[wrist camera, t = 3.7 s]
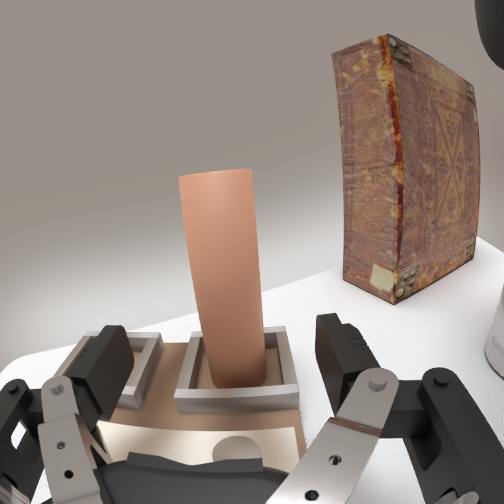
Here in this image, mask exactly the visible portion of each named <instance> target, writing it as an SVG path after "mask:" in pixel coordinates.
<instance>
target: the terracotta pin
mask: <svg viewBox="0 0 504 504" xmlns="http://www.w3.org/2000/svg"><path fill="white" fill-rule="evenodd" d="M179 185H180V194H181V202H182V210H183V218H184V226H185V233H186V240H187V247H188V254H189V260H190V267H191V273H192V280H193V286H194V292H195V297H196V303H197V309H198V314H199V319H200V325H201V330H202V335H203V340H204V345H205V350H206V355H207V359H208V364H209V369H210V373H211V378H212V381H213V384H214V385H215V386H216V387H217V388H218V389H230V388H250V387H260V386H261V385H262V384H263V383H264V381H265V379H266V376H267V372H266V357H265V343H264V328H263V314H262V300H261V286H260V273H259V259H258V245H257V233H256V218H255V206H254V193H253V180H252V169H237V170H224V171H214V172H205V173H198V174H191V175H185V176H179Z"/></svg>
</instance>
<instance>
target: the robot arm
mask: <svg viewBox="0 0 504 504" xmlns="http://www.w3.org/2000/svg"><path fill="white" fill-rule="evenodd" d="M475 10H476V19H477V25H478V30H479V34H480V38H481V41H482V44H483V46H484V48H485V50H486V52H487V54H488V56H489V57H490V58H491V60H492V61H493V62H494V63H495V64H496V65H497V66H498V67H500V68H501V69H503V70H504V0H475ZM485 352H486V356H487V359H488V361H489V363H490V364H491V366H492V367H493V368H494V369H495V370H496V371H497V372H498V373H499V374H500V375H501V376H502V377H504V285H503V289H502V293H501V297H500V300H499V304H498V307H497V311H496V314H495V317H494V321H493V324H492V327H491V330H490V333H489V336H488V339H487V342H486V344H485ZM315 354H316V360H317V363H318V366H319V369H320V372H321V375H322V379H323V382H324V385H325V388H326V391H327V394H328V397H329V400H330V404H331V407H332V410H333V413H334V418H333V417H330V418H329V419H328V420H327V422H326V423H325V425H324V426H323V428H322V429H321V431H320V432H319V434H318V435H317V437H316V438H315V440H314V441H313V443H312V444H311V445H310V447H309V448H308V450H307V451H306V453H305V454H304V455H303V457H302V458H301V459H300V461H299V462H298V463H297V465H296V466H295V467H294V469H293V470H292V471H291V473H288V472H286V471H283V470H280V469H276V468H271V467H265V466H263V460H262V458H250V459H225V460H220V461H215V462H210V463H204V464H198V465H187V464H183V463H180V462H177V461H173V460H170V459H167V458H164V457H161V456H157V455H149V454H142V453H135V452H129V453H128V456H127V460H122V461H116V462H113V460H112V458H111V456H110V453H109V451H108V449H107V446H106V444H105V442H104V439H103V437H102V434H101V431H100V429H99V427H98V426H97V422H98V420H102V421H108V422H110V419H111V417H112V415H113V412H114V410H115V408H116V406H117V403H118V401H119V399H120V397H121V394H122V392H123V390H124V388H125V385H126V383H127V381H128V379H129V377H130V374H131V372H132V370H133V368H134V354H133V351H132V349H131V346H130V343H129V340H128V337H127V334H126V331H125V329H124V327H123V326H120V325H106V326H105V327H104V328H103V330H102V331H101V332H100V333H99V335H98V336H96V337H95V338H93V339H92V340H91V341H89V342H88V343H87V344H86V346H85V347H84V349H83V351H81V353H80V354H79V355H78V356H79V357H77V358H76V360H75V361H74V362H73V364H72V365H71V367H70V368H69V370H68V371H67V372H66V374H65V375H64V376H55V377H52V378H50V379H49V380H47V381H46V382H45V383H44V384H43V386H42V388H41V389H29V387H28V386H27V384H26V382H25V381H24V380H22V379H14V380H12V381H10V382H8V383H7V384H6V385H5V386H4V387H3V388H2V390H1V391H0V504H31V501H32V499H33V496H34V493H35V490H36V487H37V485H38V482H39V479H40V477H41V474H42V472H43V469H44V468H45V472H46V476H47V481H48V484H49V488H50V492H51V496H52V498H50V499H48V500H46V501H45V502H43V503H41V504H345V503H346V502H347V500H348V498H349V496H350V495H351V493H352V491H353V489H354V488H355V486H356V484H357V482H358V480H359V478H360V477H361V475H362V473H363V471H364V469H365V467H366V465H367V463H368V461H369V459H370V457H371V455H372V452H373V450H374V448H375V446H376V444H377V441H378V439H379V438H403V441H404V444H405V446H406V449H407V452H408V454H409V457H410V460H411V462H412V465H413V468H414V471H415V474H416V476H417V479H418V482H419V485H420V488H421V491H422V494H423V497H424V500H425V503H426V504H504V449H503V447H502V445H501V443H500V442H499V440H498V438H497V436H496V435H495V433H494V431H493V430H492V428H491V426H490V425H489V423H488V422H487V420H486V418H485V417H484V415H483V414H482V412H481V410H480V409H479V407H478V406H477V404H476V403H475V401H474V400H473V398H472V397H471V395H470V394H469V392H468V391H467V389H466V388H465V386H464V385H463V383H462V382H461V381H460V379H459V378H458V376H457V375H456V374H455V373H454V372H452V371H451V370H449V369H446V368H440V367H438V368H432V369H429V370H428V371H426V372H425V373H424V375H423V377H422V380H398V378H397V376H396V375H395V374H394V373H393V372H391V371H389V370H387V369H384V368H381V367H380V365H379V364H378V362H377V360H376V358H375V357H374V355H373V353H372V352H371V350H370V348H369V346H367V343H366V341H365V340H364V339H363V336H362V335H361V333H360V331H359V330H358V329H357V328H355V327H354V326H353V325H351V324H350V323H347V324H342V323H341V321H340V319H339V318H338V316H337V314H336V313H330V314H322V315H317V318H316V338H315ZM19 421H20V423H21V424H22V425H23V427H24V428H25V429H26V432H25V434H24V436H23V437H22V439H21V441H20V443H19V445H18V447H17V449H15V448H14V446H13V445H12V442H11V435H12V433H13V431H14V430H15V428H16V426H17V424H18V422H19Z"/></svg>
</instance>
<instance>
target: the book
mask: <svg viewBox="0 0 504 504" xmlns="http://www.w3.org/2000/svg"><path fill="white" fill-rule="evenodd" d="M332 60H333V66H334V74H335V82H336V91H337V99H338V109H339V120H340V133H341V147H342V163H343V164H342V165H343V192H344V254H343V279H344V280H346V281H348V282H350V283H352V284H354V285H356V286H358V287H360V288H362V289H364V290H366V291H368V292H370V293H372V294H374V295H376V296H378V297H380V298H382V299H384V300H386V301H388V302H390V303H392V304H394V305H395V304H396V303H398V302H400V301H402V300H404V299H406V298H408V297H410V296H411V295H413V294H415V293H417V292H419V291H420V290H422V289H424V288H426V287H428V286H429V285H431V284H433V283H434V282H436V281H438V280H440V279H441V278H443V277H445V276H446V275H448V274H450V273H451V272H453V271H454V270H456V269H458V268H459V267H461V266H462V265H464V264H466V263H467V262H469V261H470V260H472V259H473V257H474V251H475V244H476V236H477V226H478V216H479V201H480V145H479V129H478V118H477V109H476V101H475V95H474V88H473V86H472V84H470V83H469V82H468V81H466V80H465V79H464V78H462V77H461V76H459V75H458V74H457V73H455V72H454V71H452V70H451V69H449V68H448V67H446V66H445V65H443V64H442V63H440V62H438V61H437V60H435V59H434V58H432V57H430V56H429V55H427V54H425V53H424V52H422V51H420V50H419V49H417V48H415V47H413V46H411V45H410V44H408V43H406V42H404V41H402V40H400V39H398V38H396V37H394V36H392V35H390V34H385V35H382V36H378V37H376V38H372V39H369V40H366V41H363V42H361V43H358V44H355V45H352V46H350V47H347V48H344V49H342V50H339V51H337V52H334V53H332Z"/></svg>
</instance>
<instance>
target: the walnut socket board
mask: <svg viewBox="0 0 504 504" xmlns="http://www.w3.org/2000/svg"><path fill="white" fill-rule="evenodd" d="M99 333H100V332H98V331H87V332H86V334H85V335H84V336H83V338H82V339H81V340H80V341H79V343H78V344H77V345H76V346H75V348H74V349H73V350H72V352H71V353H70V354H69V356H68V357H67V358H66V360H65V361H64V362H63V364H62V365H61V366H60V368H59V369H58V370H57V372H56V373H55V374H54V376H53V377H55V376H64V375H65V374H66V372H67V371H68V370H69V368H70V367H71V365H72V364H73V362H74V361H75V360H76V358H77V357H79V356H78V355H79V354H80V353H81V351H83V349H84V347H85V346H86V344H87V343H88V342H89V341H91V340H92V339H93V338H95V337H96V336H98V335H99ZM126 334H127V337H128V340H129V343H130V346H131V349H132V351H133V354H134V368H133V370H132V372H131V374H130V377H129V379H128V381H127V383H126V385H125V388H124V390H123V392H122V394H121V397H120V399H119V401H118V403H117V406H116V408H115V410H114V412H113V415H112V417H111V419H110V422H108V421H102V420H98V422H97V426H98V427H99V429H100V431H101V434H102V437H103V439H104V442H105V444H106V446H107V449H108V451H109V453H110V456H111V458H112V460H113V462H116V461H122V460H127V456H128V453H129V452H135V453H142V454H149V455H157V456H161V457H164V458H167V459H170V460H173V461H177V462H180V463H183V464H187V465H198V464H204V463H210V462H215V461H220V460H225V459H250V458H262V460H263V466H265V467H271V468H276V469H280V470H283V471H286V472H288V473H291V471H292V470H293V469H294V467H295V466H296V465H297V463H298V462H299V461H300V459H301V458H302V457H303V455H304V454H305V453H306V445H305V440H304V435H303V429H302V424H301V419H300V413H299V389H298V384H297V379H296V374H295V370H294V365H293V360H292V356H291V351H290V346H289V342H288V337H287V333H286V328H285V326H277V327H266V328H264V343H265V357H266V372H267V376H266V379H265V381H264V383H263V384H262V385H261V386H260V387H250V388H230V389H218V388H217V387H216V386H215V385H214V384H213V381H212V378H211V373H210V369H209V364H208V359H207V355H206V350H205V345H204V340H203V335H202V331H198V332H192V334H191V337H190V340H189V343H163V340H162V337H161V333H160V332H126Z"/></svg>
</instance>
